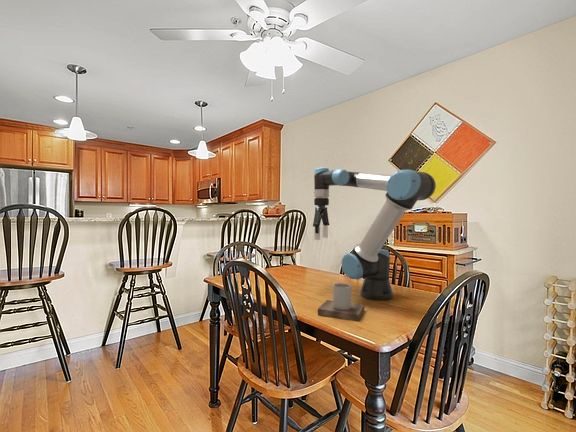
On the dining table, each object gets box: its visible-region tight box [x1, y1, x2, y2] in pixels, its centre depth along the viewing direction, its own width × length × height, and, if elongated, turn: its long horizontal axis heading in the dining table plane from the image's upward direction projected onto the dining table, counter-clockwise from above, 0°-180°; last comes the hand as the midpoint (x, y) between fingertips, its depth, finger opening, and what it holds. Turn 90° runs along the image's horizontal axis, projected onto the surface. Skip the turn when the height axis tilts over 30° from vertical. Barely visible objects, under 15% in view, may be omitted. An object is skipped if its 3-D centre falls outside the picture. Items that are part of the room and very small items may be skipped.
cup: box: [332, 282, 352, 310], centre depth 122 cm, size 7×10×9 cm
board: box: [317, 299, 365, 322], centre depth 122 cm, size 16×13×2 cm
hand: (321, 238), depth 157 cm, fingers open, 13 cm apart
